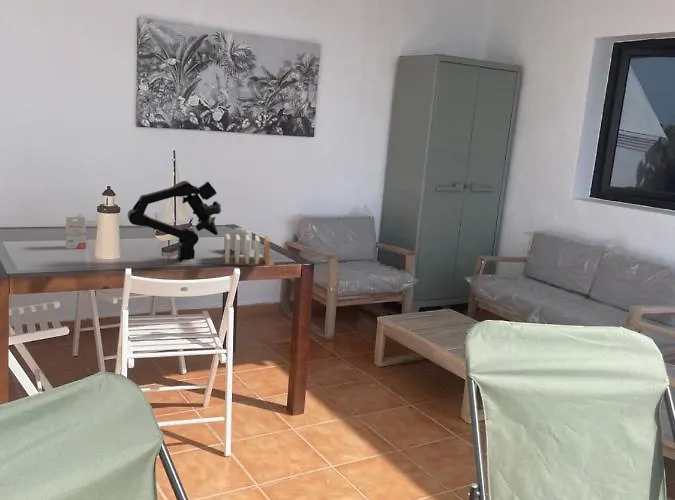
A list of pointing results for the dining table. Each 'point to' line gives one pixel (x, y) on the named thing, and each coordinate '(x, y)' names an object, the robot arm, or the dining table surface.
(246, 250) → the domino
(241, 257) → the walnut board
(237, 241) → the domino
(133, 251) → the dining table surface
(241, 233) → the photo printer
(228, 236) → the domino
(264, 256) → the domino
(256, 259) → the domino
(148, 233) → the dining table surface
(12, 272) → the dining table surface
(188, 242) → the robot arm
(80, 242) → the ink cartridge box
